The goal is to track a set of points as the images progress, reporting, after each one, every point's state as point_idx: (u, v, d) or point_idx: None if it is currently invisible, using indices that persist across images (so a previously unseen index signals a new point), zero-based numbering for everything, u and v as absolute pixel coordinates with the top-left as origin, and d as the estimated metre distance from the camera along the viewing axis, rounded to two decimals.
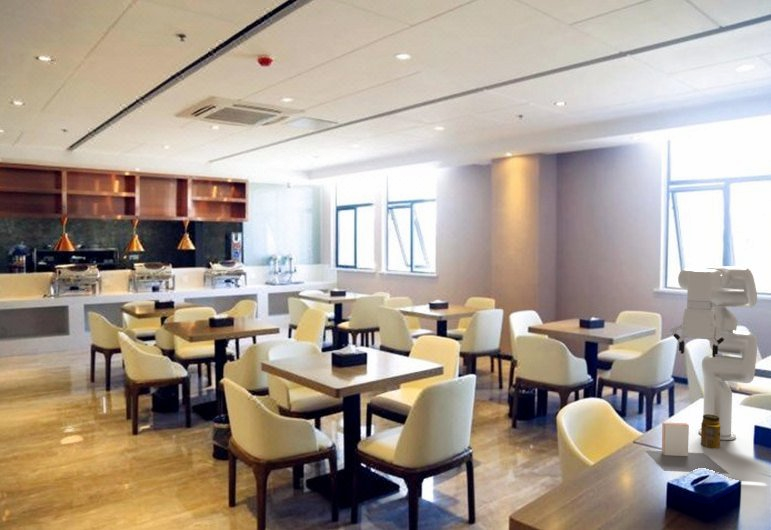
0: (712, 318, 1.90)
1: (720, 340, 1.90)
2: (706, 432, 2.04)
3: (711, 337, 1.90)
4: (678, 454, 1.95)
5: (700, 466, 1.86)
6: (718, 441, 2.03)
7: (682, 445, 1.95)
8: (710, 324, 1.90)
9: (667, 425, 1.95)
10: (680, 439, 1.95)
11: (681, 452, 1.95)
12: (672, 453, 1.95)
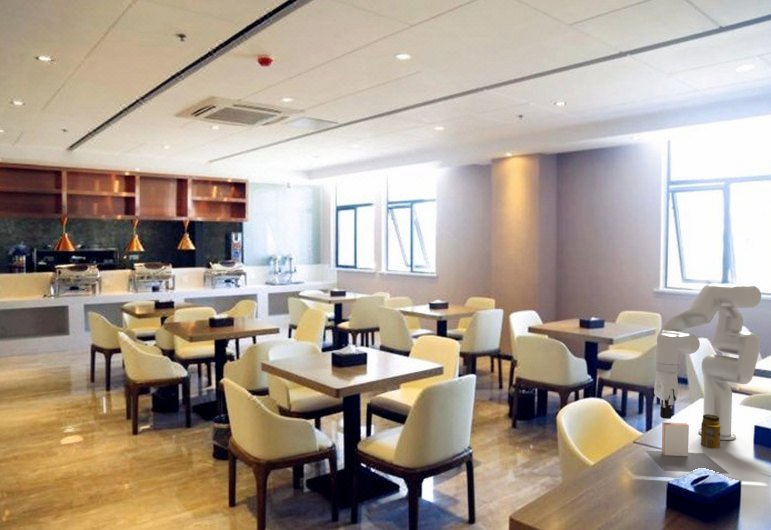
0: None
1: None
2: (706, 432, 2.04)
3: None
4: (678, 454, 1.95)
5: (700, 466, 1.86)
6: (718, 441, 2.03)
7: (682, 445, 1.95)
8: None
9: (667, 425, 1.95)
10: (680, 439, 1.95)
11: (681, 452, 1.95)
12: (672, 453, 1.95)
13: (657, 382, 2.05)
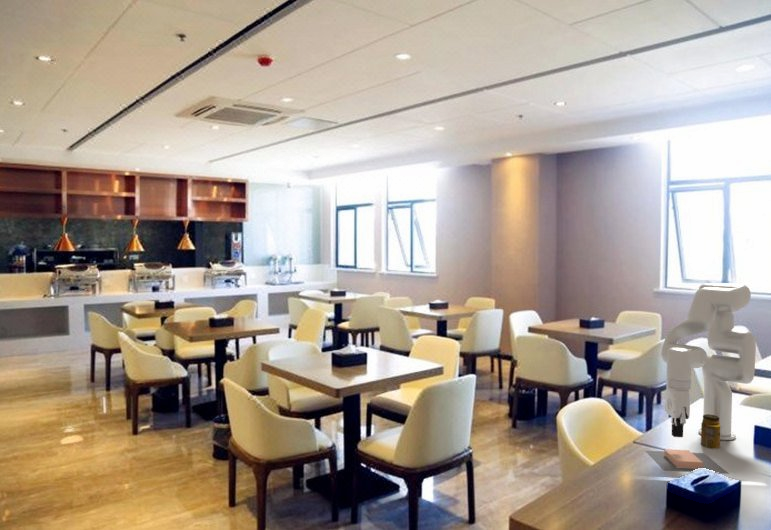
0: None
1: None
2: (706, 432, 2.04)
3: None
4: None
5: None
6: (718, 441, 2.03)
7: None
8: None
9: (679, 467, 1.85)
10: None
11: None
12: None
13: (668, 399, 1.95)
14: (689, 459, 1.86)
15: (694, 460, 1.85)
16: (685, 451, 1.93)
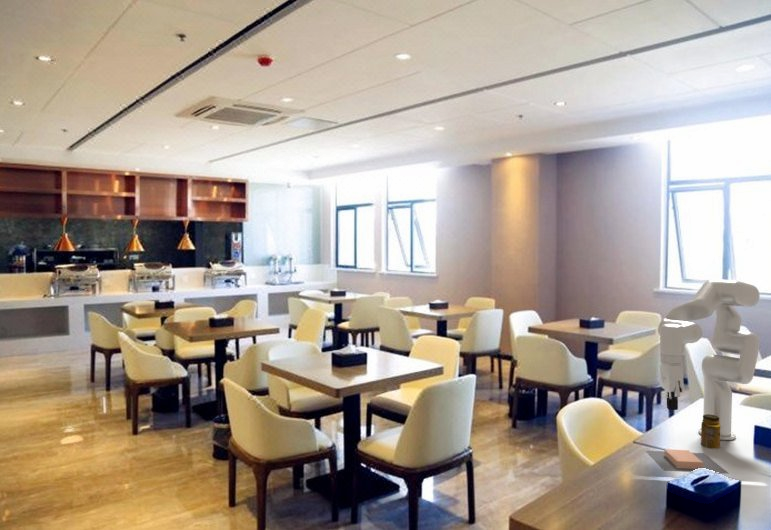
0: None
1: None
2: (706, 432, 2.04)
3: None
4: None
5: None
6: (718, 441, 2.03)
7: None
8: None
9: (679, 467, 1.85)
10: None
11: None
12: None
13: (662, 373, 2.02)
14: (689, 459, 1.86)
15: (694, 460, 1.85)
16: (685, 451, 1.93)
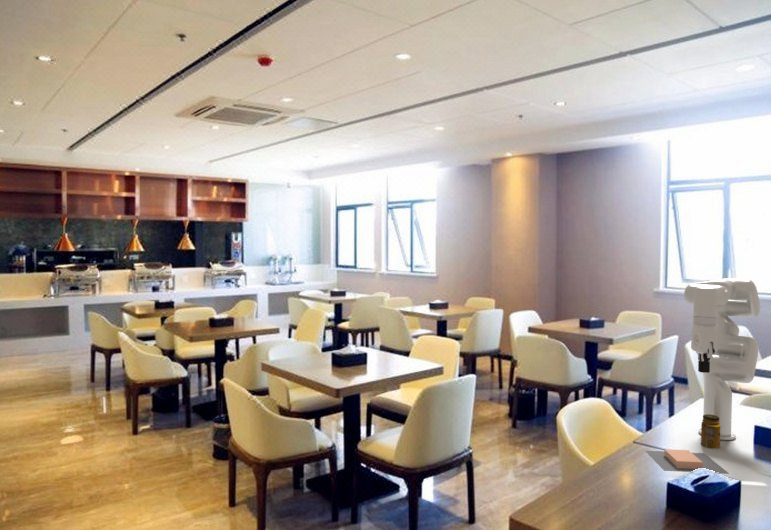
0: None
1: (703, 354, 2.03)
2: (706, 432, 2.04)
3: None
4: None
5: None
6: (718, 441, 2.03)
7: None
8: None
9: (679, 467, 1.85)
10: None
11: None
12: None
13: (694, 336, 2.02)
14: (689, 459, 1.86)
15: (694, 460, 1.85)
16: (685, 451, 1.93)
